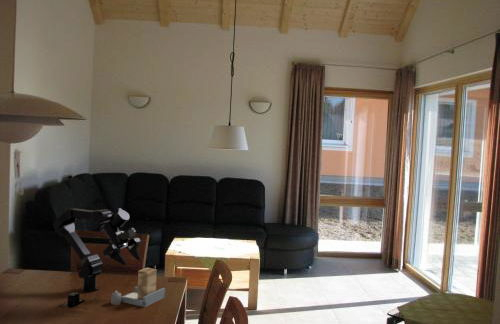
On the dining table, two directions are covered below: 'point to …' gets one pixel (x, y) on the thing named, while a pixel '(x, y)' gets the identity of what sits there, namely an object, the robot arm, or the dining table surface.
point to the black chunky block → (73, 300)
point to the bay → (133, 297)
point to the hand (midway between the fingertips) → (132, 262)
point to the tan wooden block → (146, 282)
